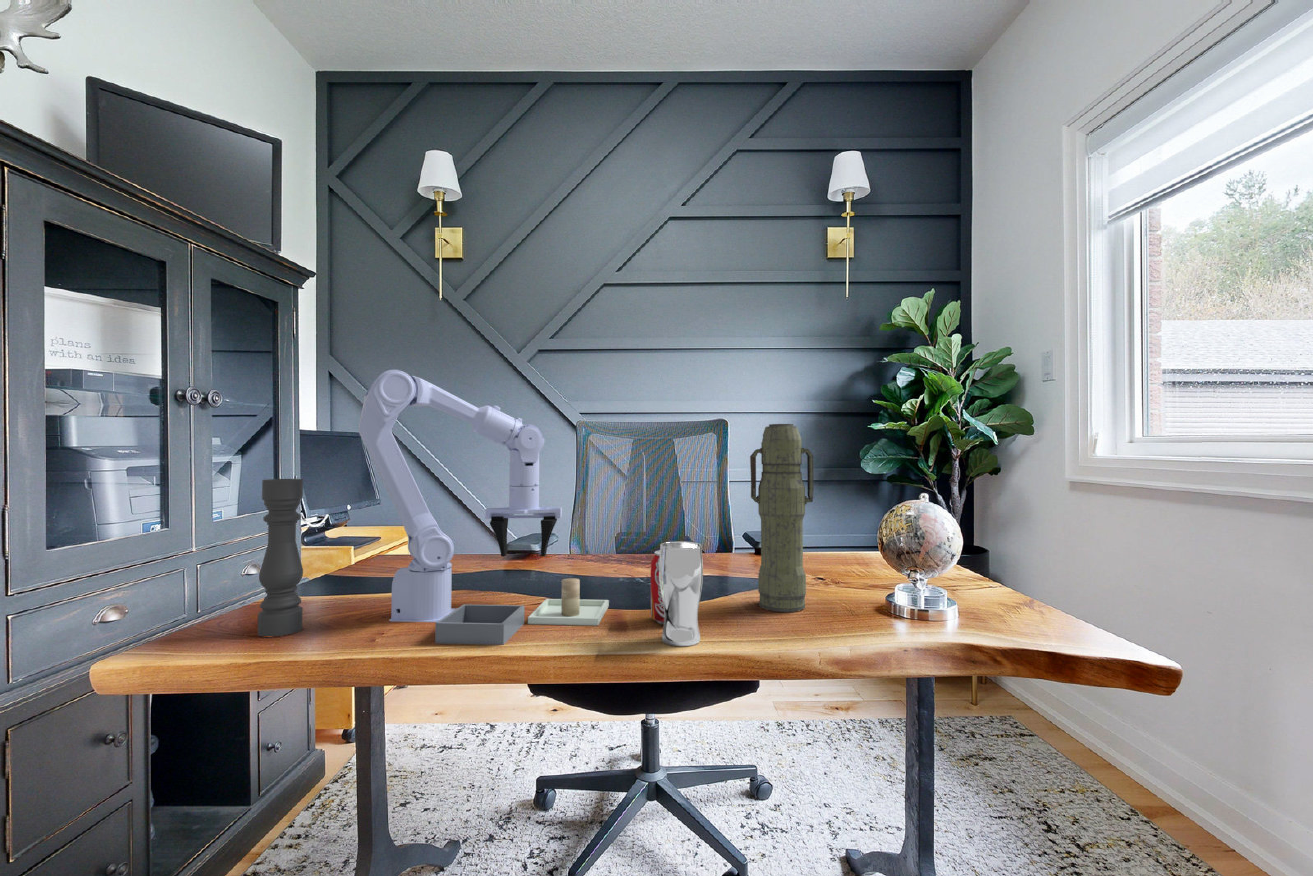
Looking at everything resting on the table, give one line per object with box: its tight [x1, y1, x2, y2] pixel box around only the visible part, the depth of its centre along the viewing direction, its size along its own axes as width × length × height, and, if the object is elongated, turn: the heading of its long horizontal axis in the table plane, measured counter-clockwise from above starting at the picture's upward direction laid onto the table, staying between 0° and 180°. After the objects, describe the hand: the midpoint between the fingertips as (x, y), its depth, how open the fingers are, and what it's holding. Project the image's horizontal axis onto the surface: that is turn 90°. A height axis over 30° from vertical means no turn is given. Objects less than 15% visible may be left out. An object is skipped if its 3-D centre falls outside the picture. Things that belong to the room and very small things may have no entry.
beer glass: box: [659, 540, 704, 647], centre depth 89 cm, size 7×7×15 cm
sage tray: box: [527, 598, 610, 626], centre depth 101 cm, size 12×12×2 cm
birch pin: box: [561, 577, 581, 616], centre depth 101 cm, size 3×3×6 cm
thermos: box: [749, 423, 814, 613], centre depth 109 cm, size 9×12×35 cm
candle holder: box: [257, 478, 304, 637], centre depth 93 cm, size 6×6×25 cm
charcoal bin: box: [434, 604, 525, 646], centre depth 91 cm, size 11×11×4 cm
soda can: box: [650, 549, 664, 626], centre depth 99 cm, size 7×7×12 cm
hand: (523, 555), depth 110 cm, fingers open, 7 cm apart
